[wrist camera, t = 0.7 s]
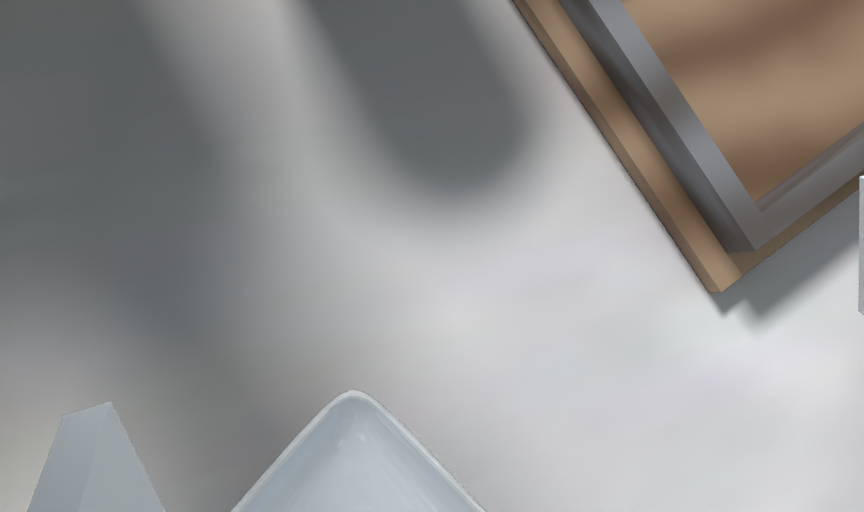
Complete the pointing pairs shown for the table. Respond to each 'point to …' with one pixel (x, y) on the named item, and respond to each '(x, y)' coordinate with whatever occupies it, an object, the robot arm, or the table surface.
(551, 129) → the table surface
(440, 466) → the salad plate
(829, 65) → the cup dock
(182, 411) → the table surface
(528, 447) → the table surface
